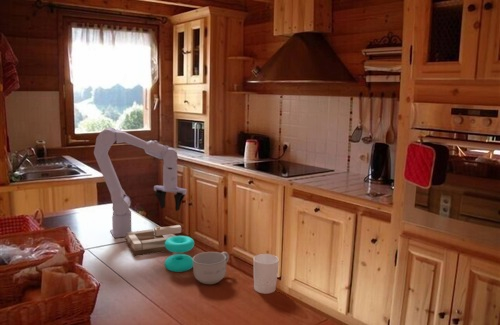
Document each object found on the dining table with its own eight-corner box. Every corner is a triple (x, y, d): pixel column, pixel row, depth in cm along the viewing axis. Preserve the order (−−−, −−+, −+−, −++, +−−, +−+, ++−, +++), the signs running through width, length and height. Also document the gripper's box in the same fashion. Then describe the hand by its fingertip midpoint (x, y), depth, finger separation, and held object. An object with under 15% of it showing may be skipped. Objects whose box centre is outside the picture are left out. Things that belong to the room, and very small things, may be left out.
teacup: (204, 291, 130) (204, 266, 128) (185, 278, 138) (186, 255, 137) (240, 279, 139) (240, 256, 137) (220, 267, 147) (221, 245, 145)
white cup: (248, 284, 135) (249, 255, 133) (271, 281, 138) (272, 252, 136) (257, 296, 128) (259, 265, 126) (281, 292, 131) (283, 262, 129)
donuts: (175, 232, 151) (199, 237, 147) (175, 259, 153) (199, 264, 149) (158, 241, 142) (183, 247, 138) (158, 269, 144) (183, 275, 140)
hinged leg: (156, 236, 168) (156, 228, 168) (154, 234, 170) (154, 226, 170) (181, 232, 173) (181, 225, 173) (179, 230, 175) (179, 223, 175)
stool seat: (125, 243, 166) (125, 232, 165) (160, 238, 172) (160, 227, 172) (134, 256, 154) (134, 244, 153) (171, 250, 160) (171, 239, 159)
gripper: (149, 177, 174) (149, 209, 176) (181, 181, 169) (180, 213, 171) (158, 174, 180) (159, 205, 183) (189, 177, 175) (189, 209, 178)
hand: (170, 209), depth 177 cm, fingers open, 6 cm apart
